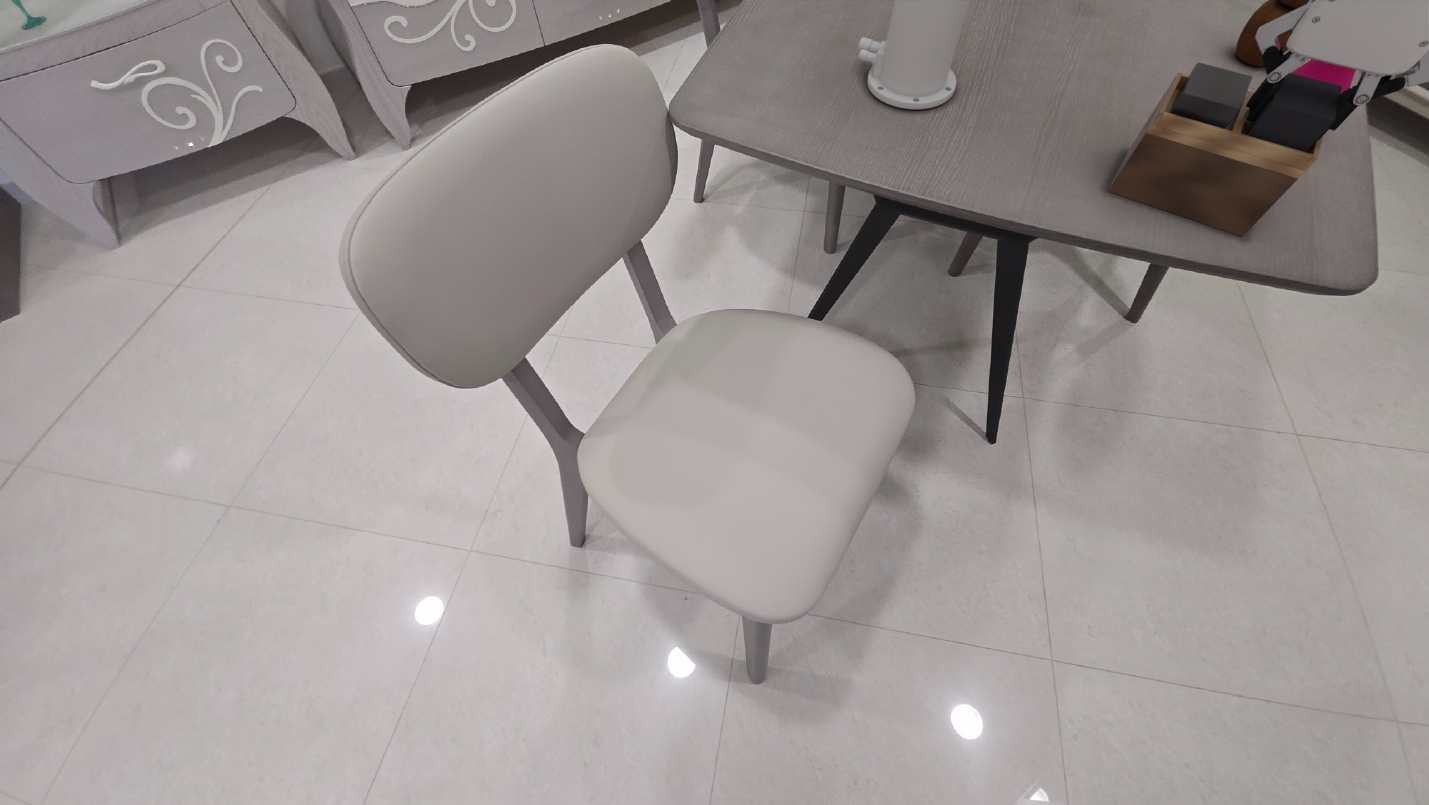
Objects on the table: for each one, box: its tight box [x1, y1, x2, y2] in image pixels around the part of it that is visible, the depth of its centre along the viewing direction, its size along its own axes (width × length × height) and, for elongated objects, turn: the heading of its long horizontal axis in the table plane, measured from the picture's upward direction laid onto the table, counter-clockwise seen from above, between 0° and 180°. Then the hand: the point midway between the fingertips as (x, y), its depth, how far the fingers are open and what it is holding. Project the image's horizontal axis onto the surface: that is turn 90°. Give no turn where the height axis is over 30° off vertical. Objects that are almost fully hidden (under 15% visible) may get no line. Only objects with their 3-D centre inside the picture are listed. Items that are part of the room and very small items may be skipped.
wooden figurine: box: [1235, 0, 1310, 67], centre depth 81 cm, size 7×6×15 cm
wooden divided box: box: [1107, 62, 1324, 237], centre depth 68 cm, size 15×9×12 cm, turn 56°
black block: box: [1247, 72, 1343, 152], centre depth 62 cm, size 6×7×4 cm
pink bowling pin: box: [1290, 59, 1357, 94], centre depth 70 cm, size 7×7×20 cm
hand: (1284, 121), depth 63 cm, fingers closed on black block, 5 cm apart
